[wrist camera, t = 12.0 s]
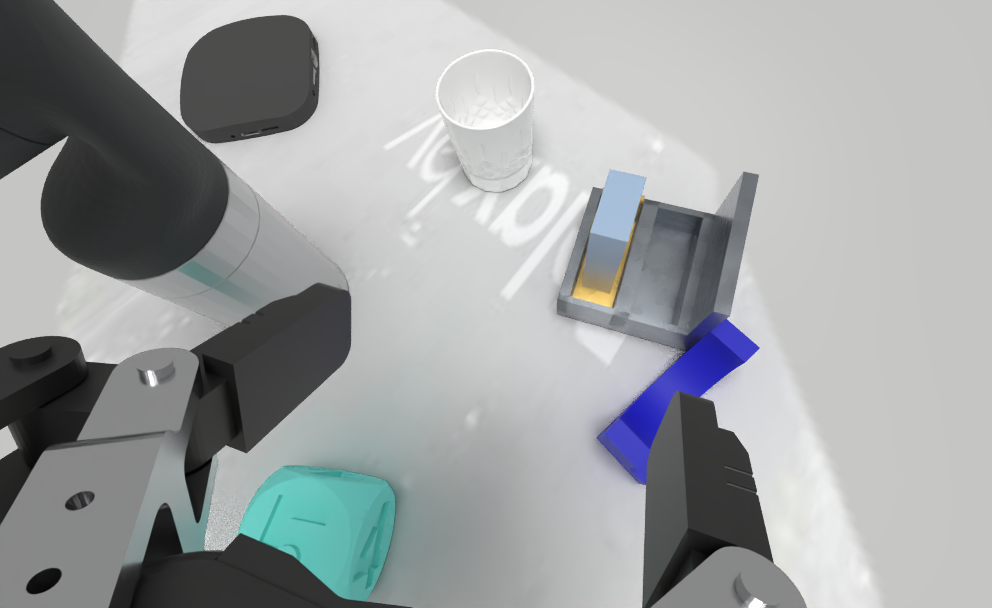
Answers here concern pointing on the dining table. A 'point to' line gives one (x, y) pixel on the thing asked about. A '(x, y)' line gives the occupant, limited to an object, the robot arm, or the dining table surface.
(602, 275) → the light blue rectangular block
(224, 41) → the media streaming box
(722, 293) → the grey compartment holder
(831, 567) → the dining table surface
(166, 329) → the dining table surface
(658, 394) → the blue piece
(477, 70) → the white cup
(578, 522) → the dining table surface
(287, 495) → the decorative dice
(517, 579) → the dining table surface
